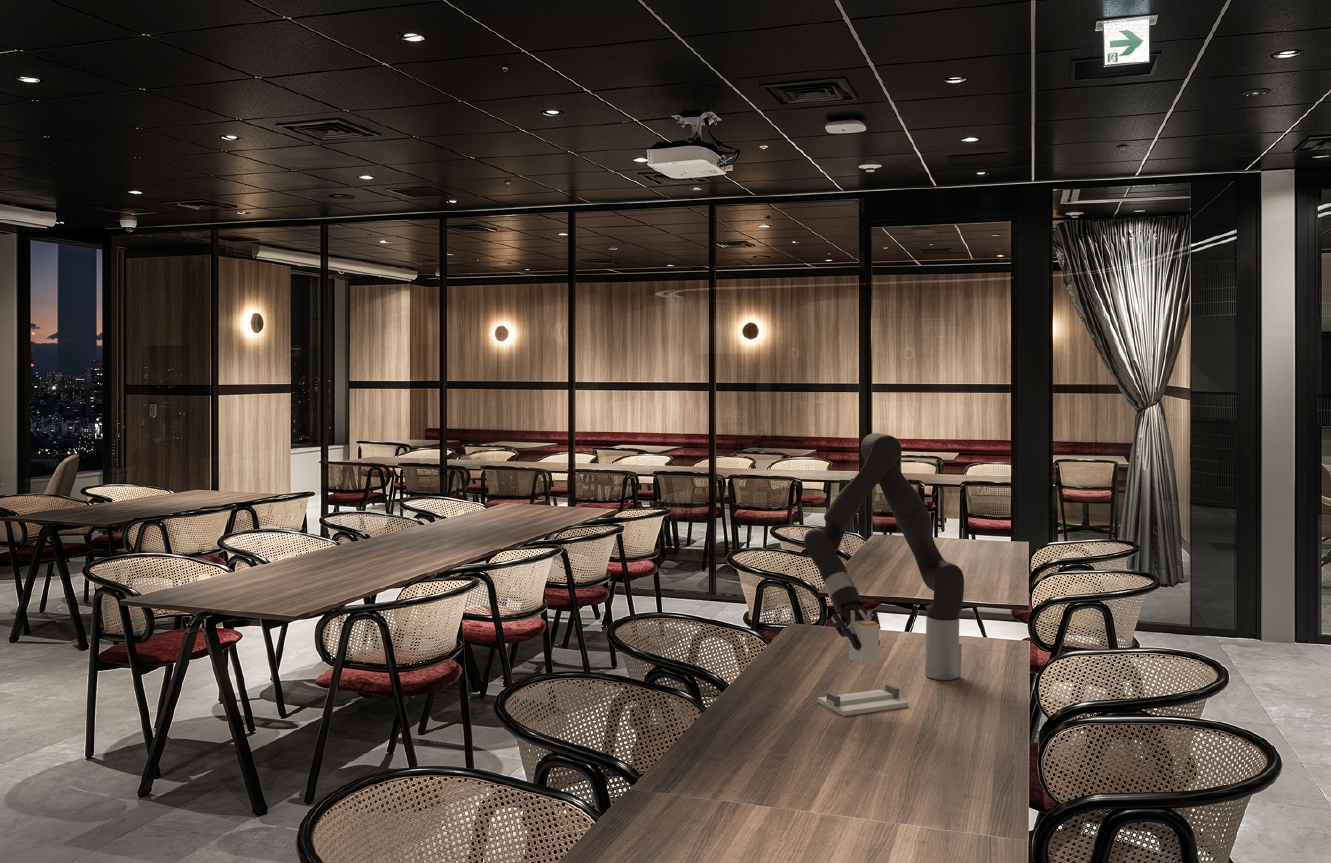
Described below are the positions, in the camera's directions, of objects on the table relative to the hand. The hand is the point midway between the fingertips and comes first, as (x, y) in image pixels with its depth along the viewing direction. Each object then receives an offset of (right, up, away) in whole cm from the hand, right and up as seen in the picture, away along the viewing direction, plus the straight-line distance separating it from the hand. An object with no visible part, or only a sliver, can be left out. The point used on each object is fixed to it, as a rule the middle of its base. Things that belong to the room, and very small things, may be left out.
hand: (868, 647), depth 262 cm
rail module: (-1, -4, +2) cm, 5 cm away
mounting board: (-1, -15, +2) cm, 16 cm away
